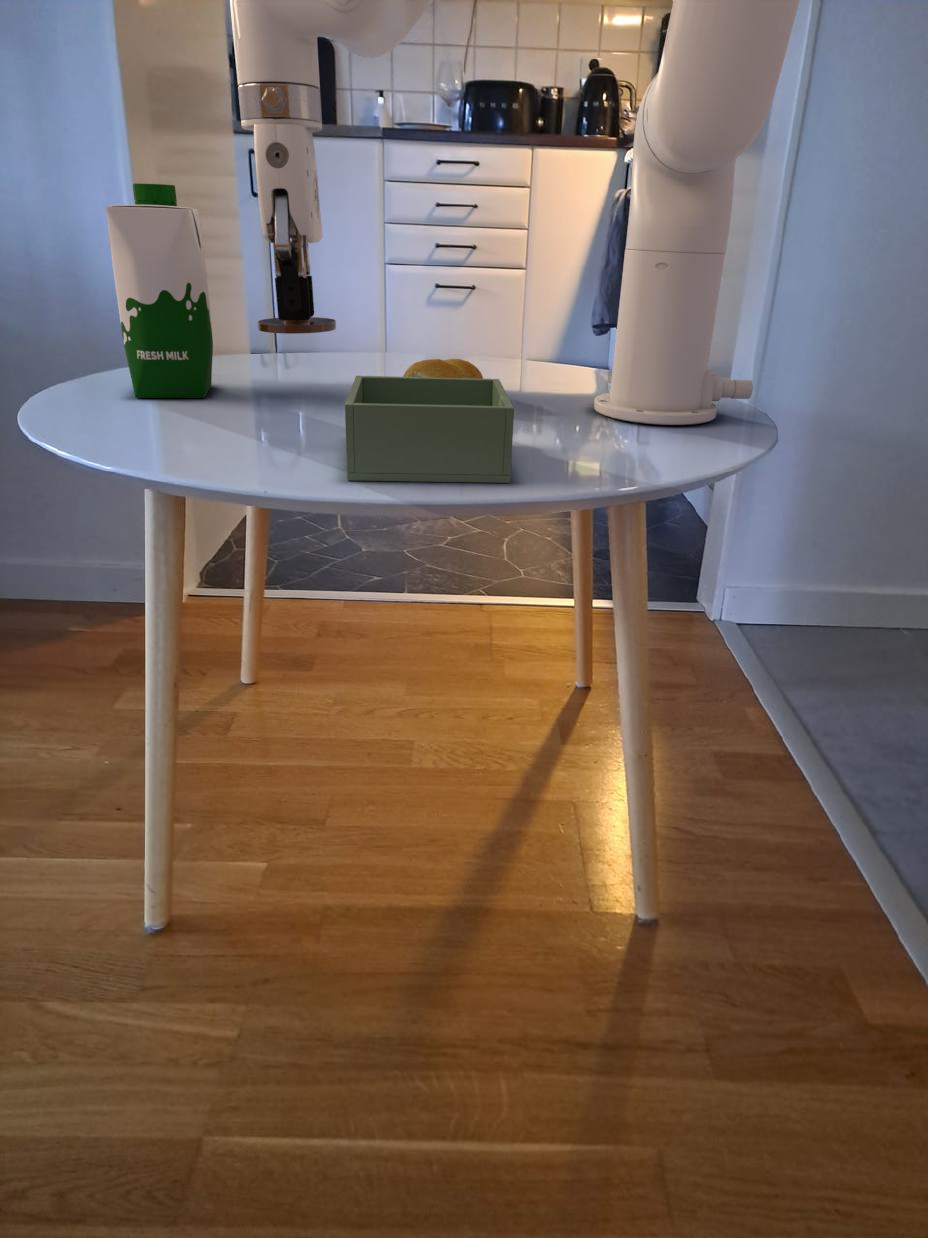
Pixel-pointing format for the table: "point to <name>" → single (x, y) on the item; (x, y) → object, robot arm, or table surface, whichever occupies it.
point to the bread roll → (443, 369)
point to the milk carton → (162, 293)
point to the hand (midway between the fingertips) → (296, 316)
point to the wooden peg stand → (297, 324)
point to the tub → (428, 430)
